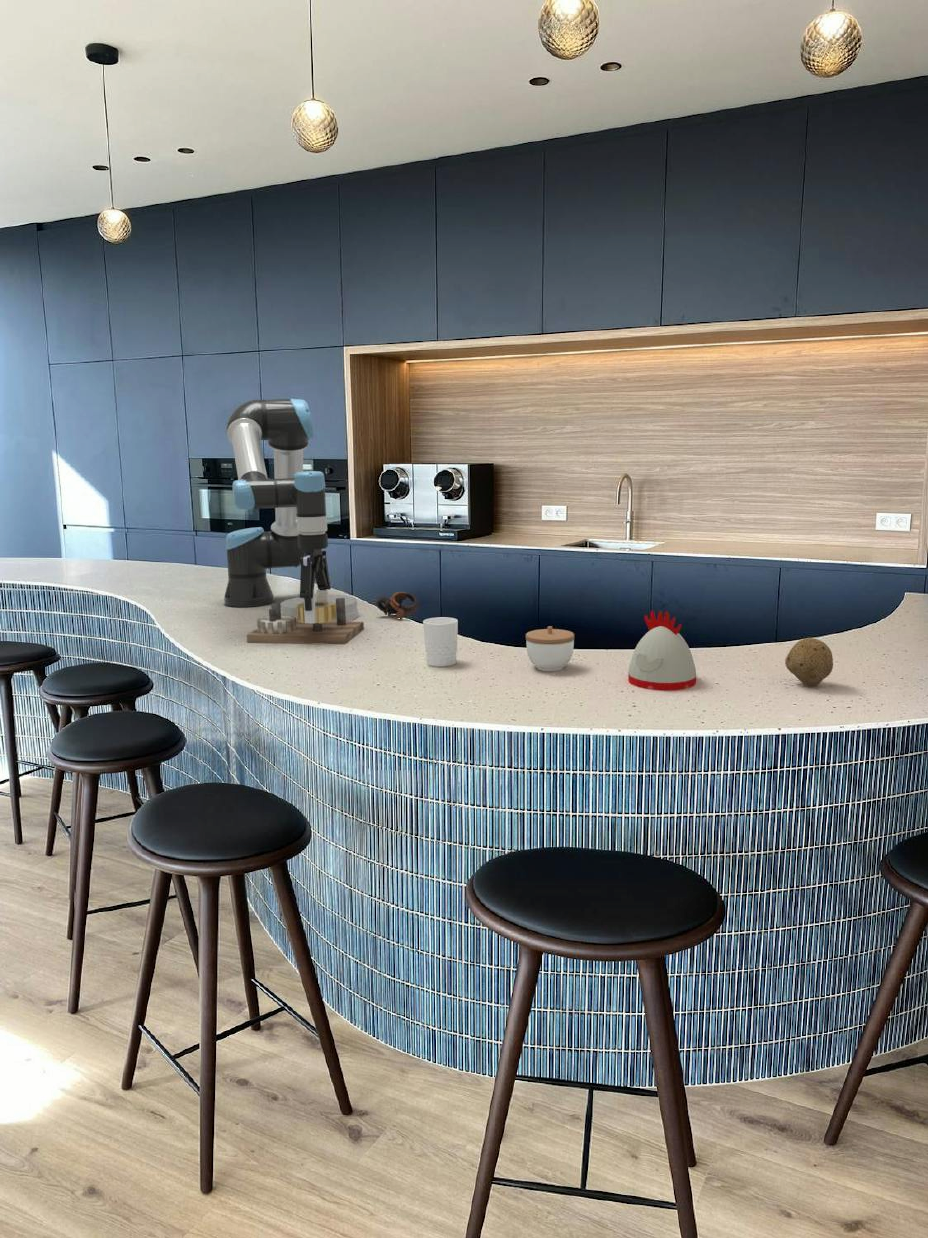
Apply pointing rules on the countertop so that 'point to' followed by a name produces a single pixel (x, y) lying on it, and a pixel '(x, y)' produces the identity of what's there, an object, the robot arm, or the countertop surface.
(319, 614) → the brass gear
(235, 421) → the robot arm
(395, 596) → the brown curved piece
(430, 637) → the white cup
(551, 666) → the lidded jar
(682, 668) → the kitchen timer
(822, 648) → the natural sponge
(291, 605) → the dish
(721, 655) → the countertop surface
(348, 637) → the gear board
